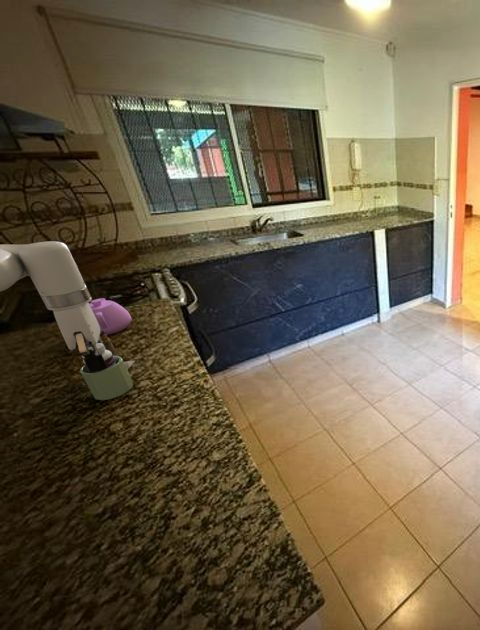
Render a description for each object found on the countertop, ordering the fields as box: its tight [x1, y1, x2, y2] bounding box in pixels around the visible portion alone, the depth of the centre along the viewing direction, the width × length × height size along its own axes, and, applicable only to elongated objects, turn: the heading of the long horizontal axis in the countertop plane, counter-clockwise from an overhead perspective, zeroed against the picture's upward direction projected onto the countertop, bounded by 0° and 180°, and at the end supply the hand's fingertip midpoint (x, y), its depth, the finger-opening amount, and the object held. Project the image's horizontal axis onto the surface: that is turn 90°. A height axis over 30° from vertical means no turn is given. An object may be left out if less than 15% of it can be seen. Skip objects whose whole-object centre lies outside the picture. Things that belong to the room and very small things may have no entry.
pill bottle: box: [82, 343, 116, 373], centre depth 85 cm, size 5×5×10 cm
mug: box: [79, 355, 134, 401], centre depth 87 cm, size 8×8×8 cm
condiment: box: [99, 329, 136, 370], centre depth 94 cm, size 7×8×12 cm
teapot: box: [89, 297, 132, 336], centre depth 117 cm, size 14×20×11 cm
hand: (100, 363), depth 85 cm, fingers closed on pill bottle, 5 cm apart
